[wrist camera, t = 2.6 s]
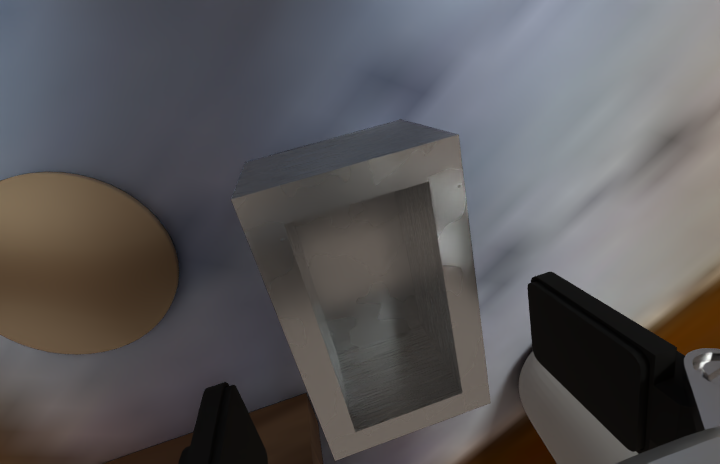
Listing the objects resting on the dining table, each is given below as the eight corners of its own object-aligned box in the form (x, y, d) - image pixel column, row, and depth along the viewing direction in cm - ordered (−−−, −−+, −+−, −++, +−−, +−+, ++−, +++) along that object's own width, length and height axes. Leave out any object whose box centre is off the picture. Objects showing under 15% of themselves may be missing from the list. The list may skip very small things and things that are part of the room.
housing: (245, 161, 14) (230, 199, 9) (399, 119, 14) (458, 134, 10) (319, 363, 18) (335, 460, 13) (436, 323, 18) (490, 403, 14)
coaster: (-102, 206, 12) (-114, 210, 11) (126, 147, 12) (121, 148, 12) (29, 370, 14) (22, 378, 14) (207, 314, 15) (206, 320, 15)
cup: (682, 311, 22) (890, 427, 14) (621, 416, 24) (772, 560, 17) (529, 295, 19) (694, 430, 11) (478, 417, 21) (586, 592, 14)
